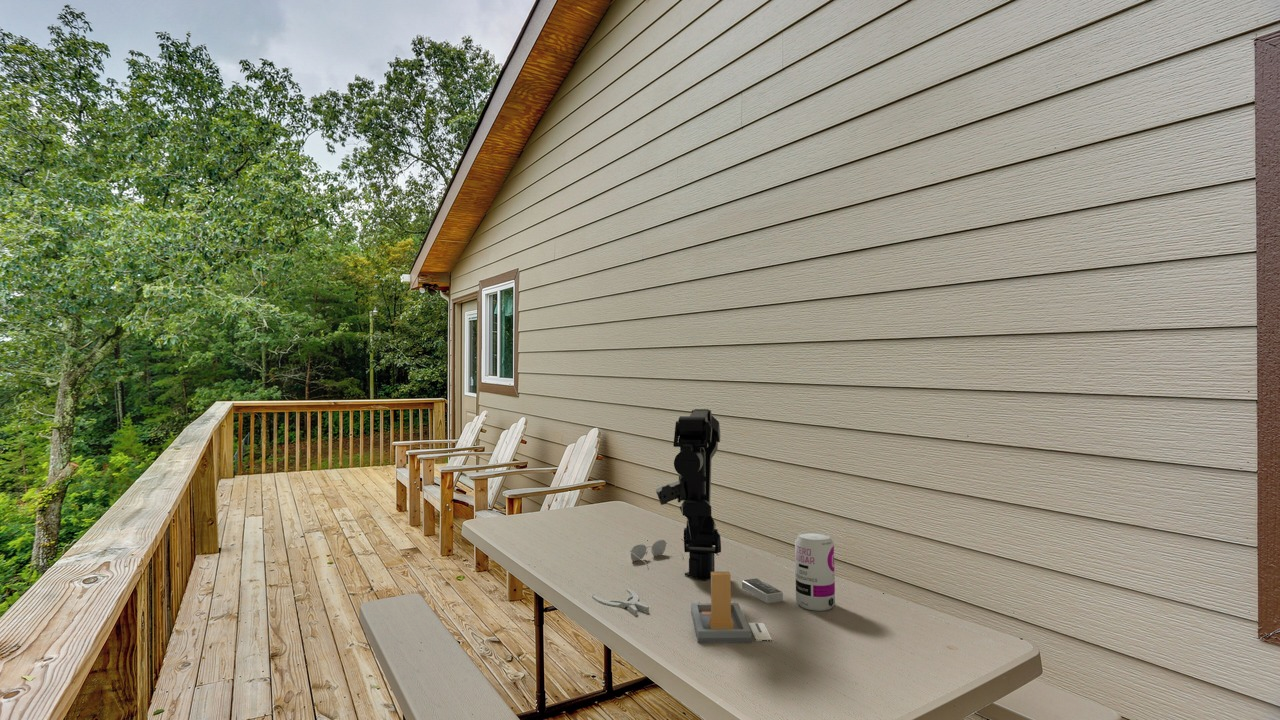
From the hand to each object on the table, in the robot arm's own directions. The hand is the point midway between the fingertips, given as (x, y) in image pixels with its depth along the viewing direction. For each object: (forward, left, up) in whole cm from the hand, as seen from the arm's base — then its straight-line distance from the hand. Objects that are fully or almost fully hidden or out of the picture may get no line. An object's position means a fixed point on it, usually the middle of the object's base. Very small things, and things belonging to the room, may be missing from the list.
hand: (693, 539), depth 139 cm
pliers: (+13, -9, -14) cm, 21 cm away
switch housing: (+8, +16, -13) cm, 22 cm away
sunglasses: (-16, -26, -14) cm, 33 cm away
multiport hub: (-13, +10, -14) cm, 21 cm away
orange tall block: (+11, +16, -12) cm, 23 cm away
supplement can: (-15, +22, -13) cm, 30 cm away
